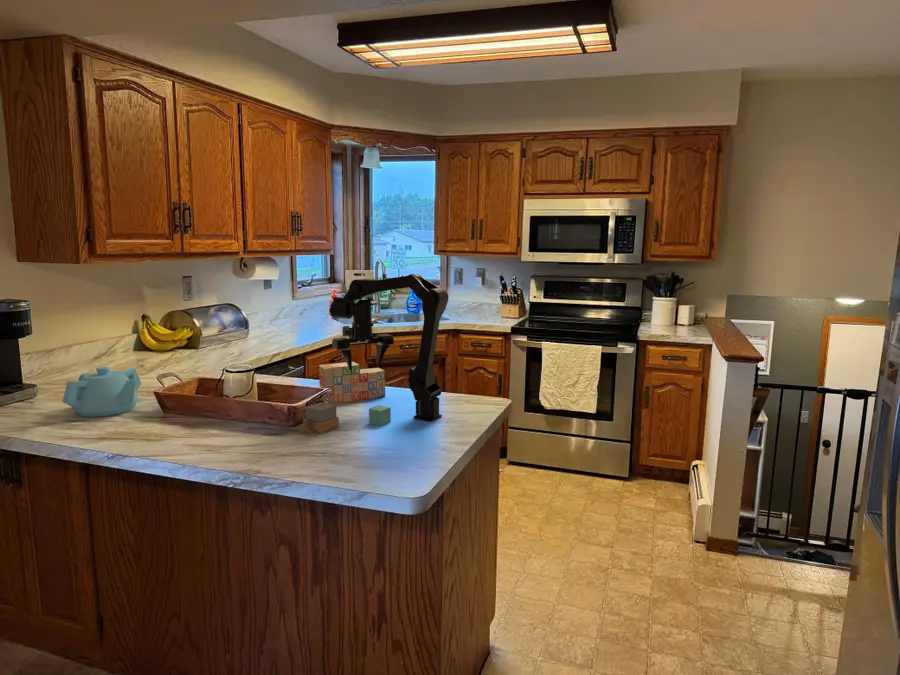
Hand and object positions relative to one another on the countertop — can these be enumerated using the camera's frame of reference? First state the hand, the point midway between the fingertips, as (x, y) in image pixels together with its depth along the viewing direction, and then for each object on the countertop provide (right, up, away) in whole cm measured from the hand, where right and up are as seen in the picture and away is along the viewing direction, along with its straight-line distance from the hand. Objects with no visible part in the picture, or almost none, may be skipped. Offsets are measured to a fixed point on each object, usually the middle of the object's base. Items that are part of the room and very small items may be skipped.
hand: (364, 368), depth 184 cm
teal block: (+6, -16, -12) cm, 20 cm away
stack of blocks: (-6, -11, +15) cm, 20 cm away
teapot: (-80, -13, -2) cm, 81 cm away
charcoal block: (-10, -13, -19) cm, 25 cm away
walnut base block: (-10, -17, -18) cm, 26 cm away
